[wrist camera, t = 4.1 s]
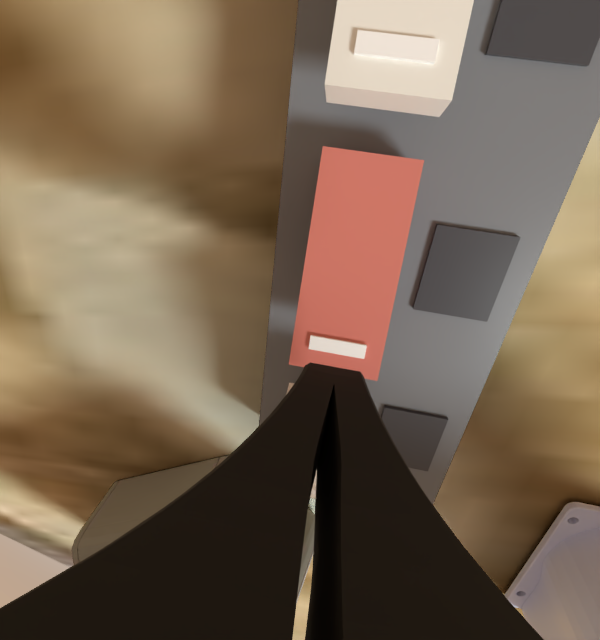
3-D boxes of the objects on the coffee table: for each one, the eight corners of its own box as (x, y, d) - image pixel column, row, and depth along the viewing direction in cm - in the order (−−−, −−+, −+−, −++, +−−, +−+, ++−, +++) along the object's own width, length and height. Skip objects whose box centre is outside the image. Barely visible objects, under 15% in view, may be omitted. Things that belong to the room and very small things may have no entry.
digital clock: (122, 549, 28) (3, 755, 19) (67, 461, 25) (-115, 663, 15) (333, 550, 25) (316, 807, 15) (305, 448, 21) (259, 703, 12)
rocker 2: (374, 369, 12) (377, 382, 11) (293, 354, 12) (288, 365, 11) (416, 168, 10) (425, 159, 9) (324, 155, 11) (322, 145, 10)
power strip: (418, 452, 20) (431, 525, 16) (271, 422, 20) (251, 487, 17) (741, -429, 8) (1076, -924, 4) (367, -436, 9) (371, -874, 5)
